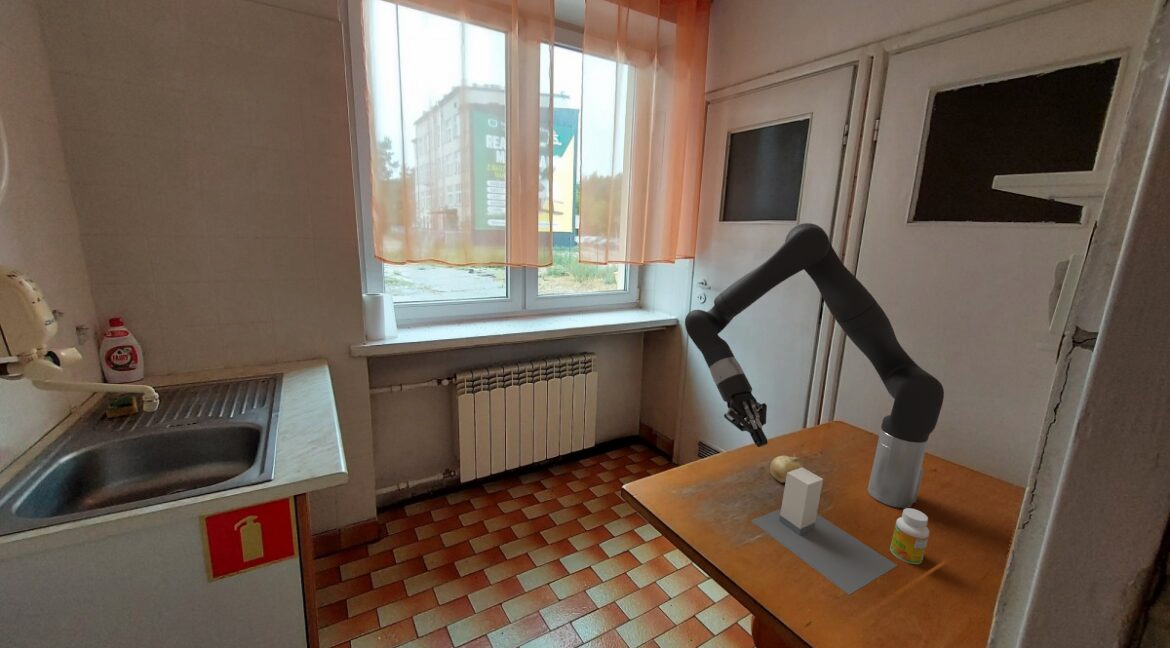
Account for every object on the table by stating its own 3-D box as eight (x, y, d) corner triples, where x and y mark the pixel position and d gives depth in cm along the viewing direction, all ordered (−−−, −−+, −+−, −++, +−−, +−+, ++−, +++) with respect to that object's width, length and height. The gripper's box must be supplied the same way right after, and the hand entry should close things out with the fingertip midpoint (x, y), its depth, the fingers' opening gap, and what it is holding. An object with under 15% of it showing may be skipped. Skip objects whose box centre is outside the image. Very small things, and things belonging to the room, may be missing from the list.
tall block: (779, 520, 97) (787, 472, 94) (793, 514, 100) (802, 467, 97) (799, 535, 93) (808, 484, 90) (814, 528, 95) (823, 479, 93)
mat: (750, 522, 97) (750, 520, 97) (797, 503, 105) (797, 501, 104) (848, 597, 78) (849, 594, 78) (897, 567, 86) (897, 565, 86)
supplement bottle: (883, 546, 91) (892, 505, 89) (907, 546, 92) (917, 505, 90) (903, 566, 86) (914, 523, 84) (928, 565, 87) (939, 523, 84)
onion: (792, 493, 109) (796, 467, 107) (762, 478, 115) (766, 453, 113) (807, 482, 114) (811, 457, 112) (778, 468, 120) (781, 444, 118)
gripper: (719, 375, 104) (754, 446, 97) (758, 369, 111) (793, 434, 103) (701, 389, 110) (732, 456, 102) (739, 382, 116) (771, 445, 109)
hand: (763, 445), depth 103 cm, fingers closed
